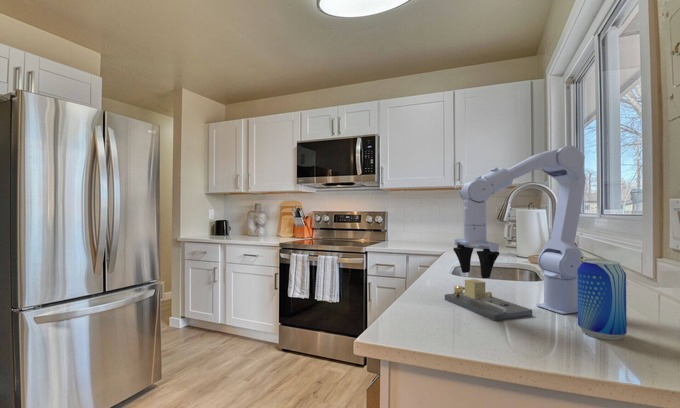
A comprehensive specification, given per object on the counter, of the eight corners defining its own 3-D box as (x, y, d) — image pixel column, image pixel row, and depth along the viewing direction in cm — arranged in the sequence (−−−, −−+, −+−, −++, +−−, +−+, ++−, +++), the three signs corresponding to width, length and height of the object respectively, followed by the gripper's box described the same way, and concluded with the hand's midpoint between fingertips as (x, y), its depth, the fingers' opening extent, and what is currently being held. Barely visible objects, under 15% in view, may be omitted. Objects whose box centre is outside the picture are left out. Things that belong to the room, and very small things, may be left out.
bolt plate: (477, 296, 103) (477, 283, 104) (532, 315, 84) (532, 300, 85) (444, 299, 100) (444, 286, 100) (494, 320, 81) (494, 304, 81)
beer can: (568, 327, 76) (568, 258, 76) (601, 326, 77) (600, 257, 77) (601, 342, 68) (600, 264, 68) (637, 340, 69) (636, 264, 69)
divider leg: (486, 296, 96) (486, 278, 96) (497, 300, 92) (497, 281, 92) (464, 298, 94) (464, 280, 94) (474, 302, 90) (474, 283, 90)
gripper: (445, 224, 95) (446, 271, 95) (482, 226, 81) (483, 281, 81) (465, 223, 97) (466, 269, 97) (505, 226, 84) (505, 279, 84)
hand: (475, 275), depth 89 cm, fingers open, 7 cm apart
